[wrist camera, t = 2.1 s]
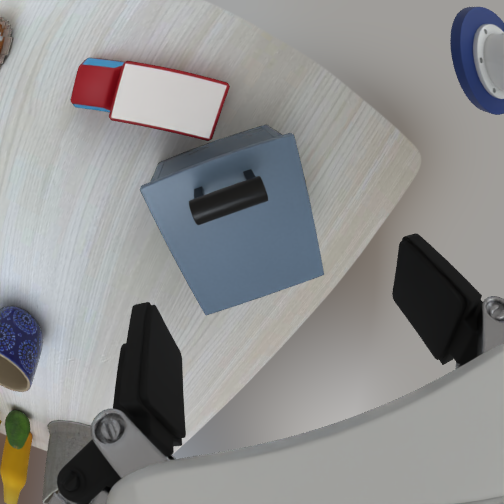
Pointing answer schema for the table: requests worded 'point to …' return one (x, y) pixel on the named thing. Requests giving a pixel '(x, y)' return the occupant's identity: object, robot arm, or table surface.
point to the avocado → (17, 428)
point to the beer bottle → (14, 469)
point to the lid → (239, 223)
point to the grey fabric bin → (62, 451)
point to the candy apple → (4, 39)
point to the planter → (18, 348)
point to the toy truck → (151, 96)
